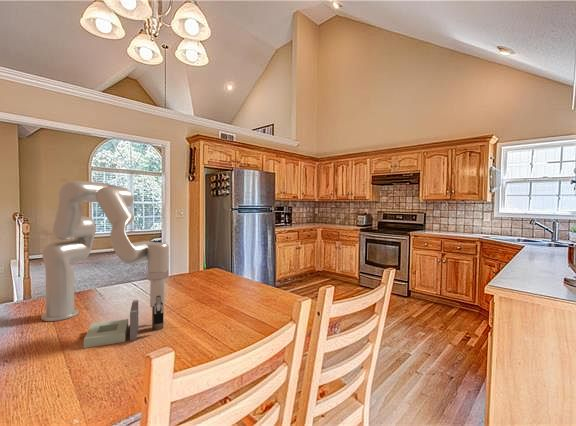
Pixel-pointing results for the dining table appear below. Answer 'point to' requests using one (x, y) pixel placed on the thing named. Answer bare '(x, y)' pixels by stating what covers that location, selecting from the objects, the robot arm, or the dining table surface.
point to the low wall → (134, 320)
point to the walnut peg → (154, 326)
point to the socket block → (106, 333)
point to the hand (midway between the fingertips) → (158, 318)
